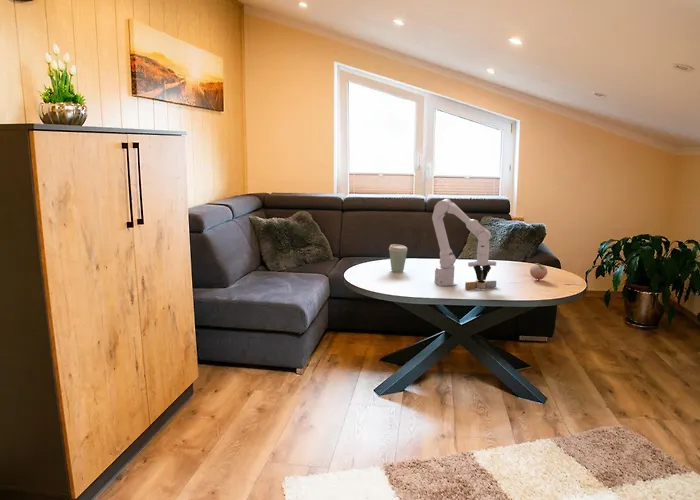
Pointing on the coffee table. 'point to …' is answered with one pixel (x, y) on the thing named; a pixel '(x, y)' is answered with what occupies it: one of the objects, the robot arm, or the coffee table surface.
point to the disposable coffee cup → (397, 257)
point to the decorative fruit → (538, 271)
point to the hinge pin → (482, 276)
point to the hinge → (480, 285)
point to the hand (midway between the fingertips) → (481, 279)
